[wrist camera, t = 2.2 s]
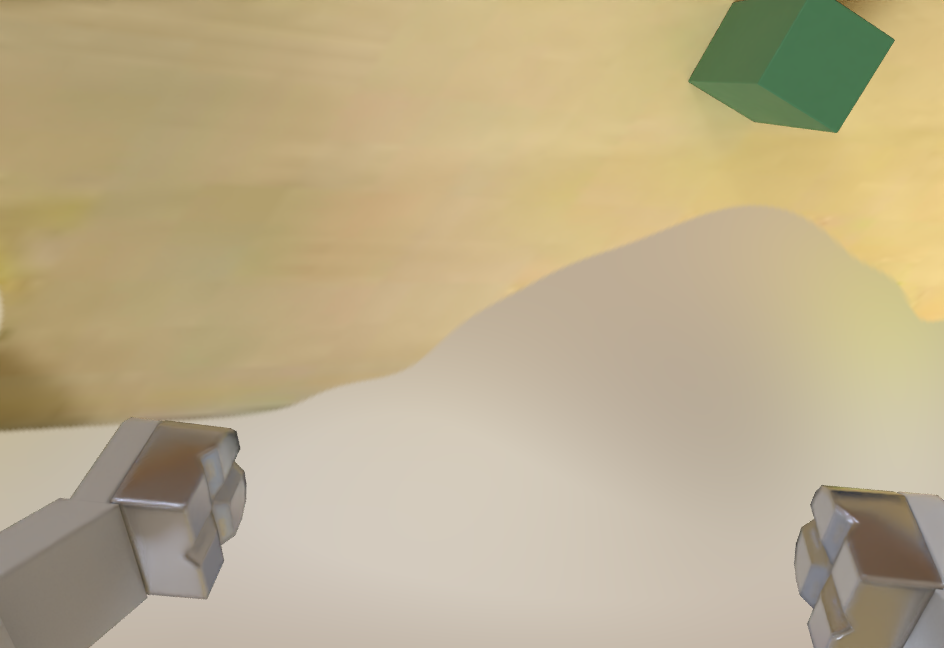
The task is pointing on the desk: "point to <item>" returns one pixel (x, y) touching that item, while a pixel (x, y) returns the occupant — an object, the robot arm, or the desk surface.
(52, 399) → the desk surface
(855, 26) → the green block
